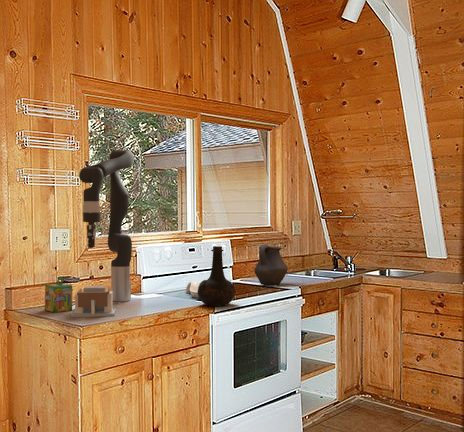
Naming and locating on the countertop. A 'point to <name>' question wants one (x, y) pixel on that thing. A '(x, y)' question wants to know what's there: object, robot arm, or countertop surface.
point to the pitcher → (270, 266)
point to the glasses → (92, 298)
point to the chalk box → (58, 297)
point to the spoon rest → (193, 288)
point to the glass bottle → (216, 283)
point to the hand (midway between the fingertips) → (91, 247)
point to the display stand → (94, 305)
